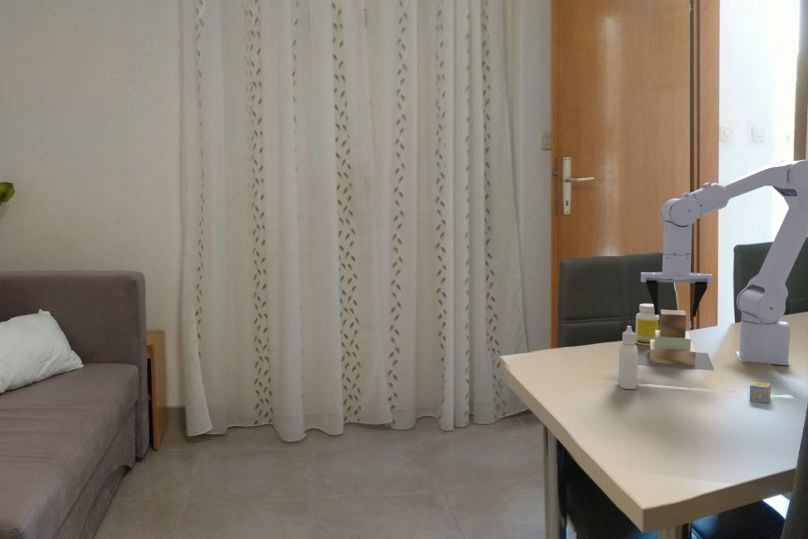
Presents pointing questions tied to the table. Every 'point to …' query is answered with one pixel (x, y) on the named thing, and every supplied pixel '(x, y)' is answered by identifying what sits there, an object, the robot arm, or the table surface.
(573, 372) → the table surface
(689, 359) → the tower base
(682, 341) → the tower top
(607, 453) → the table surface
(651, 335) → the supplement bottle
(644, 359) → the mat
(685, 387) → the table surface
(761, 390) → the alphabet block
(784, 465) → the table surface
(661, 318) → the walnut cube
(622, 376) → the eye dropper bottle
